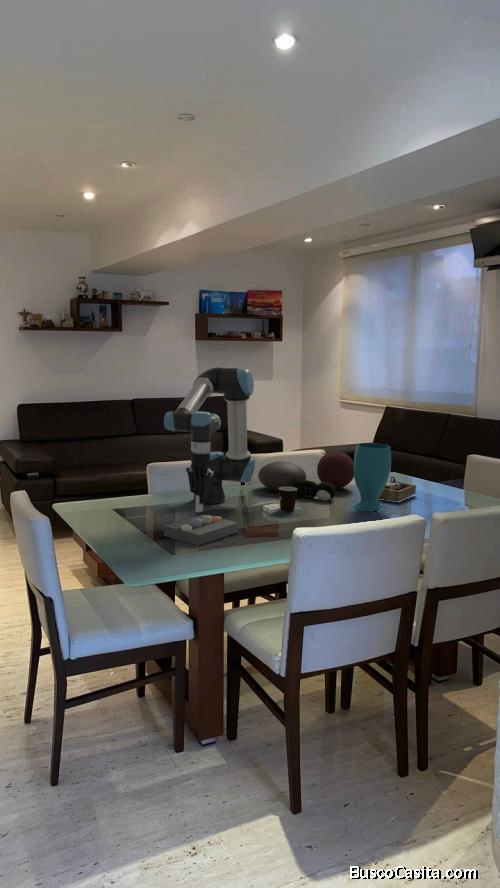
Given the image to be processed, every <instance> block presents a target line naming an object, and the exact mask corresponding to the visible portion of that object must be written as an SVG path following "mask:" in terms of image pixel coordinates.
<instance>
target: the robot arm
mask: <svg viewBox="0 0 500 888" xmlns="http://www.w3.org/2000/svg"><path fill="white" fill-rule="evenodd" d="M254 382H255V381H254V378H253V374H252V372H251V371H250V370H249V369H247V368H240V367H219V366H218V367H211V368H209V369H207V370H205V371H203V372H202V373H200V374H199V375H198V376H196V378H195V379H194V381H193V383H192V387H191V389H190V390H189V392H188V393H187V395H186V396H185V397H184V399H183V400H182V401H181V403H180V404H179V406H178V407H177V408H176V410H175V411H167V412H166V413H165V415H164V417H163V418H164V419H163V426H164V428H165V429H166V430H168V431H172V432H186V433H190V437H191V438H190V462H191V464H190V466H188V467H186V468H185V470H186V473H187V476H188V483H189V489H190V493H193V501H194V503H195V513H201V512H204V511H203V510H204V505H218V504H222V503H223V504H224V503H225V502H226V494H225V490H224V487H223V481H226V482H227V481H228V482H235V483H248V482H250V481H251V480H252V477H253V475H254V470H255V464H256V461H255V458H254V457H251V454H252V453H251V452H250V451H249V450H248V432H247V431H248V428H247V427H248V424H247V421H248V419H247V416H248V415H247V402H248V401H249V399H250V396H252V395H253V393H254V387H255V385H254ZM212 394H223V400H225V402H227V403H226V404H227V405H226V406H227V430H228V431H227V433H228V439H227V440H228V450H227V452H226V453H225V454H224V452H222V451H211V438H212V437H211V434H213V433H215V432H217V431H218V430H220V427H221V425H222V421H221V417H220V416H219V415H218V414H216V413H211V412H209V411H200V410H199V409H200V408H201V406H202V405H203V404H204V403H205V401H206V399H207V398H208V397H210V396H211V395H212Z"/></svg>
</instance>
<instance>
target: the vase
mask: <svg viewBox="0 0 500 888" xmlns="http://www.w3.org/2000/svg"><path fill="white" fill-rule="evenodd" d="M391 449H392V448H391V446H389V445H387V444H382V443H376V442H375V443H372V442H370V443H369V442H368V443H367V442H363V443H357V444H356V446H355V450H354V454H353V455H354V456H353V471H354V478H353V479H354V482H355V485H356V488H357V491H358V492H359V496H360V500H359V503H356V504H355V505H354V506H352V507H353V508H354V510H356V511H360V512H364V511H379V510H381V509H382V508H384V507H383V506H382V505H381V503H380V500H379V497H380V495H381V494H382V492H383V490H384V488H385V486H386V484H387V482H389V478H390V475H391V469H392V450H391Z"/></svg>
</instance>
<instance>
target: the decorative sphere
mask: <svg viewBox="0 0 500 888" xmlns="http://www.w3.org/2000/svg"><path fill="white" fill-rule="evenodd" d="M353 462H354V460H353V459H352V457H350V456H349V454H347V453H345V452H341V451H337V450H335V451H334V450H333V451H332V450H331V451H330V452H327V453H325V454H324V455H322V456H321V458H319V461H318V464H317V466H316V474H317V477H318V479H319V481H320V483H321V482H328V483H331V484H332V485H333V486H334V487H335V490H339V489H342V488H345V487H347V485H349V484H350V483H351V482H352V481H353V480H354V479H355V478H354V471H353Z"/></svg>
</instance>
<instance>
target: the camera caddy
mask: <svg viewBox="0 0 500 888" xmlns="http://www.w3.org/2000/svg"><path fill="white" fill-rule="evenodd" d="M390 481H391V480H388V482H390ZM416 490H417V485H416V484H413V483H412V484H411V483H405V482H401V490H399V491H396V490H390V489H384V490H383V492H382V494H381V495H380V497H379V499H384V500H391V501H400V500H402V499H404V498H406V497H409V496H411V495H413V494H415V495H416V492H417V491H416Z"/></svg>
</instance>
